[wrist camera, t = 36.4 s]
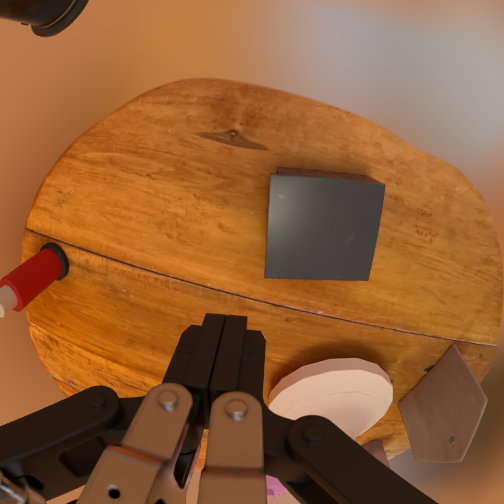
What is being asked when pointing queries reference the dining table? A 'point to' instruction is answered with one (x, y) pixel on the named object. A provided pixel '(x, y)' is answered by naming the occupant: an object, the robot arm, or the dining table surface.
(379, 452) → the cup
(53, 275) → the sauce bottle
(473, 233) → the dining table surface
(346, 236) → the box lid
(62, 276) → the black coaster
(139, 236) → the dining table surface
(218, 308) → the dining table surface
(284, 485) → the robot arm
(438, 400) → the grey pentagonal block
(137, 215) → the dining table surface
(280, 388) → the candle holder
